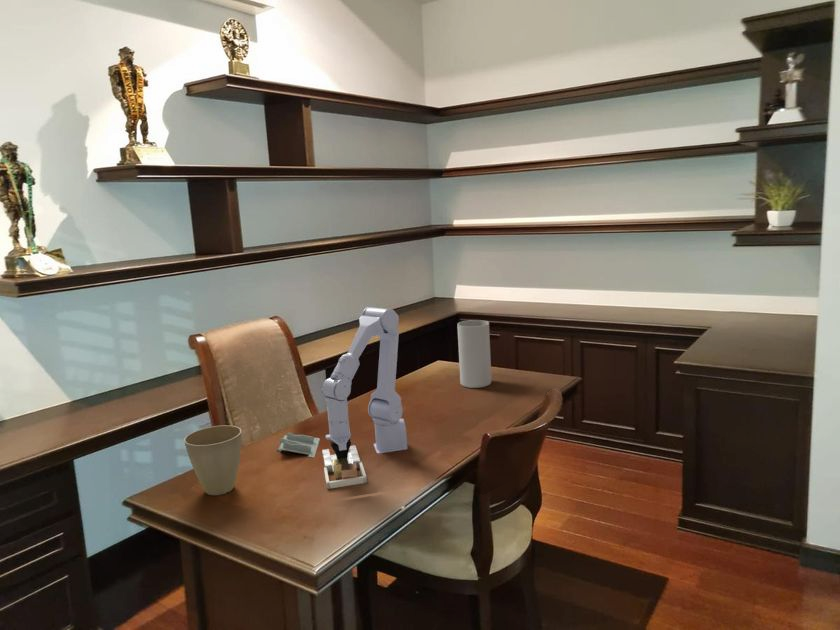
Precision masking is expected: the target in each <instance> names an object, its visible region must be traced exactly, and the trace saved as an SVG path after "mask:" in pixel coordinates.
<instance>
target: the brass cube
mask: <svg viewBox="0 0 840 630" xmlns="http://www.w3.org/2000/svg"><path fill="white" fill-rule="evenodd" d="M342 464H349V463H348V460H347V458H341V459H335V460H333V467H334V472H333V475H334V478H335V480H336V479H337V480H338V479H342V472H341V465H342Z"/></svg>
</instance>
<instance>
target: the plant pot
mask: <svg viewBox="0 0 840 630" xmlns="http://www.w3.org/2000/svg"><path fill="white" fill-rule="evenodd" d="M183 443H184V445H185V446H184V447H185V449H186V452H187V455H188V458H189V461H190V465H192V466H191V467H192V468H193V471H194V473H195V475H196V478H197V479H198V482H199V483H200V485H201V487H202V488H203V490H204V492H205V493H206V494H207V495H209V496H222V495H225V494H227V492H228V493H229V492H231V491H232V490H233V489H234V487H235V484H236V480H237V478H238V477H237V476H238V471H239V466H240V459H241V453H242V452H241V451H242V429H241V427H238V426H235V425H225V424H224V425H223V424H222V425H214V426H209V427H204V428H201V429H198V430H195V431H193V432H191V433H189V434H188V435H186V436H185V437H184V439H183Z"/></svg>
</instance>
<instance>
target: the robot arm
mask: <svg viewBox="0 0 840 630" xmlns="http://www.w3.org/2000/svg"><path fill="white" fill-rule="evenodd" d="M399 318H400V316H399V315H398V313H397V312H396V311H395V310H394V309H392V308H380V307H374V306H373V307H372V306H367V307H365V308H364V309H363V311H362V312H361V315H360V317H359V319H358V321H359V327H358V329H357V331H356V333H355V336H354V338H353V340H352V342H351V344H350V347H349V349H348V351H347V353H345V354H342V355H341V357H339V358H338V362H337V364H336V366H335V367H334V369H333V371H332V372H331V374H330V377H328V378H327V379H325V380H324V381H323V382H322V387H321V389H320V393H321V395H322V396H323V397H324V402H325V403H326V409H327V410H326V411H327V419H328V420H327V421H328V430H329V432H328V433H329V434H325V440H330V447H331V448H332V450H333V452H334V454H336V457H337V459H341V458H347V457H348V452H349V448H350V446H352V442H351V436H352V434H351V430H350V419H349V418H350V417H349V408H348V397H349V396H350V394H351V392H352V391H351V390H352V384H353V383H352V380H353V379H354V376H355V375H356V373H357V370H358V369H359V366H360V360H359V359H360V357H361V355H362V353H363V352H364V350H365V348H366V347H367V345H368V344H369V342H370V340H371V339H372V338H373V337H374V336H378V338H379V339H380V341H379V354H378V355H379V356H378V357H379V359H378V369H377V383H376V386H377V387H376V389H375V391H373V392H372V393H371V394H370V399H369V403H368V404H367V405H368V406H367V413H368V415H369V416H370V418H372V422H373V423H374V433H375V434H374V436H375V443H373V446H374V449H375V451H376V454H383V453H391V452H396V451H403V450H408V439H407V438H408V437H407V426H406V423H405V420H404V418H402V416H403V411H404V409H403V406H402V397H401V396H400V395H399V394H398V392H396V378H397V376H396V375H397V365H398V364H397V362H398V352H399V351H398V350H399V349H398V348H399V335H400V331H399Z"/></svg>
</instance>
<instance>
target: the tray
mask: <svg viewBox="0 0 840 630" xmlns="http://www.w3.org/2000/svg"><path fill="white" fill-rule="evenodd" d="M358 469H359V471H360V474H361V476H357V477H355V478H348V479H342V478H341V479H337V480H336V479H335V480H331V481H330V478H329V472H327V467H325V466H324V467H323V473H324V478H325V484H326V489H327V490H329V489H335V488H336V489H337V488H342V487H348V486H349V487H350V486H354V485H362V484H367V483H368V480H367V479H368V478H367V477H368V476H367V474H366V471H365V468H364V465H363V462H362V461H360V462H359V468H358Z"/></svg>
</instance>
